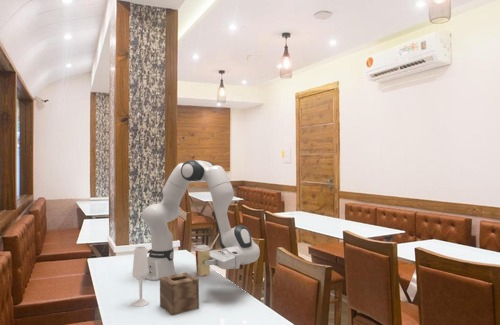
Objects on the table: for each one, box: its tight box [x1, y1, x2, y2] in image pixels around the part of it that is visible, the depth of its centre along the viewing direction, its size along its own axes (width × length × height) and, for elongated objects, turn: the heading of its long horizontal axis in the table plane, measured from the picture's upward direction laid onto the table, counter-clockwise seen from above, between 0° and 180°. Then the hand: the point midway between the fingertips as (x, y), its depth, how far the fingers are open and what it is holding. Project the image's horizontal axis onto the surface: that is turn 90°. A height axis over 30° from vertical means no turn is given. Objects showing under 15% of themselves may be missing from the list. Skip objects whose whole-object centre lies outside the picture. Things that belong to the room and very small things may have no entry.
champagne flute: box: [132, 245, 150, 307], centre depth 162 cm, size 7×7×24 cm
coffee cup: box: [194, 244, 211, 277], centre depth 203 cm, size 8×8×15 cm
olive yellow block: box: [197, 250, 211, 277], centre depth 164 cm, size 4×2×10 cm, turn 126°
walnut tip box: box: [159, 272, 200, 316], centre depth 157 cm, size 12×12×12 cm
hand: (202, 262), depth 164 cm, fingers closed on olive yellow block, 2 cm apart
